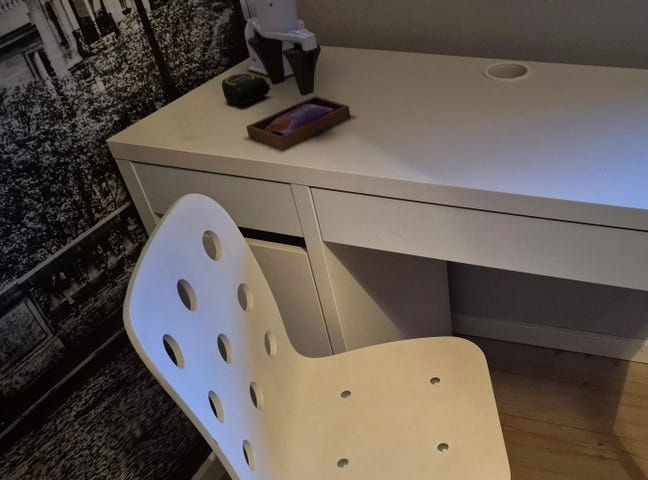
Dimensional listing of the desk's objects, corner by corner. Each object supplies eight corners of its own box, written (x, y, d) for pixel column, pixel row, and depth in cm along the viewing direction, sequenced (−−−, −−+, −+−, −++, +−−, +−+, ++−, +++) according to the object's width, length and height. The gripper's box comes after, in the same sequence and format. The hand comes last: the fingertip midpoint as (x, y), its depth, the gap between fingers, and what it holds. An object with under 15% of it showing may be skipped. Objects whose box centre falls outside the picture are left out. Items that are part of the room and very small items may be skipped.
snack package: (310, 98, 115) (333, 103, 113) (312, 109, 116) (335, 114, 114) (262, 122, 107) (286, 128, 105) (265, 134, 109) (288, 140, 107)
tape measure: (242, 110, 117) (236, 89, 115) (218, 102, 121) (212, 81, 118) (272, 98, 121) (267, 77, 119) (248, 90, 125) (243, 69, 122)
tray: (282, 150, 105) (279, 138, 104) (249, 138, 109) (245, 126, 108) (350, 117, 114) (348, 105, 113) (317, 107, 118) (315, 95, 116)
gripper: (325, -4, 96) (341, 91, 106) (266, -19, 104) (286, 71, 113) (285, 7, 93) (305, 104, 102) (227, -9, 100) (250, 83, 109)
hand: (292, 88), depth 107 cm, fingers open, 7 cm apart
